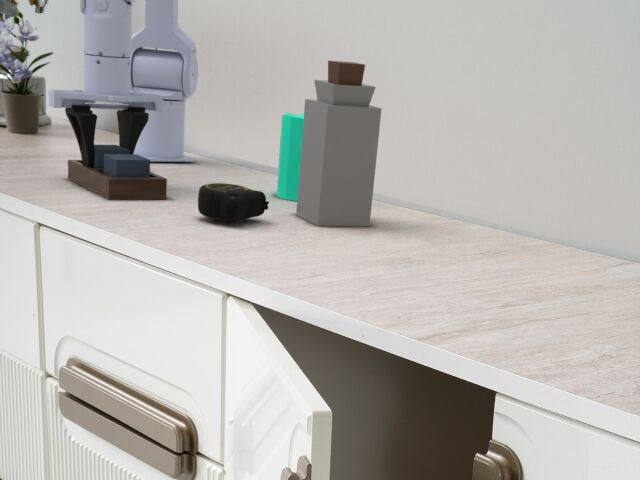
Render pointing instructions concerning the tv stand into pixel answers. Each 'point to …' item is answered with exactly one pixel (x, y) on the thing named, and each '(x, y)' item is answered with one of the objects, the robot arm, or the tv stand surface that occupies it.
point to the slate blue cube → (106, 149)
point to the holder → (117, 183)
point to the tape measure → (230, 202)
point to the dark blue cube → (126, 166)
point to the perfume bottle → (339, 149)
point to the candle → (290, 156)
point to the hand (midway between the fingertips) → (106, 167)
